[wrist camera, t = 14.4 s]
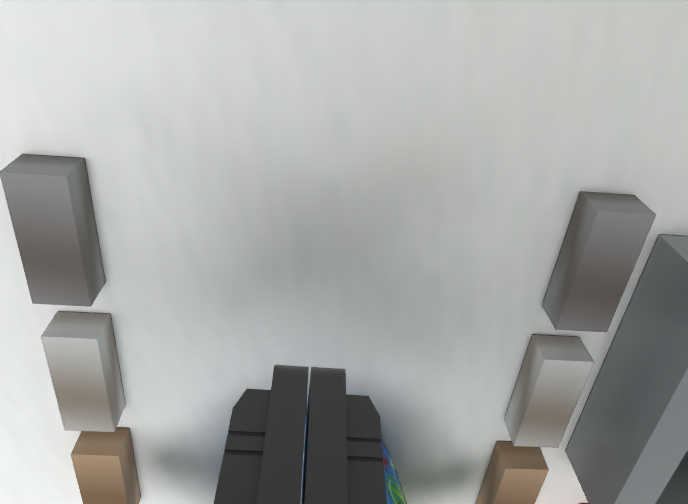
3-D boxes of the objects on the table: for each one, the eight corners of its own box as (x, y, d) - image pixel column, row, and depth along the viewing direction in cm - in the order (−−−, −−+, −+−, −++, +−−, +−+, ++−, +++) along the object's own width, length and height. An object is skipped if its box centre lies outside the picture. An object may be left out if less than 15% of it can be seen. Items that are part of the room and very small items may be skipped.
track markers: (21, 153, 18) (-1, 172, 17) (634, 195, 20) (656, 214, 18) (99, 496, 28) (88, 524, 26) (512, 507, 29) (521, 535, 28)
